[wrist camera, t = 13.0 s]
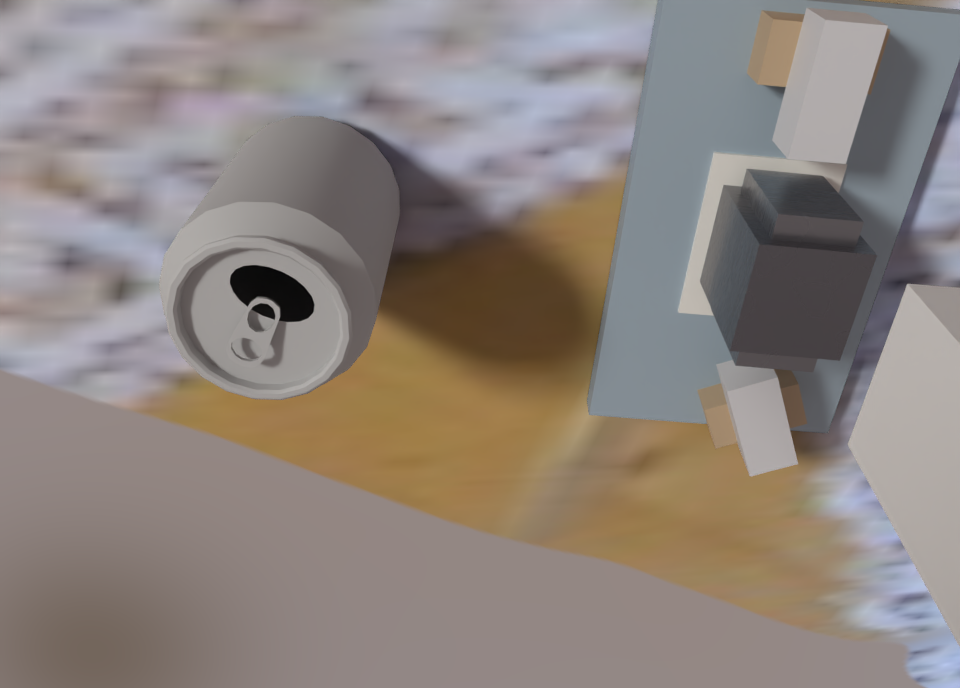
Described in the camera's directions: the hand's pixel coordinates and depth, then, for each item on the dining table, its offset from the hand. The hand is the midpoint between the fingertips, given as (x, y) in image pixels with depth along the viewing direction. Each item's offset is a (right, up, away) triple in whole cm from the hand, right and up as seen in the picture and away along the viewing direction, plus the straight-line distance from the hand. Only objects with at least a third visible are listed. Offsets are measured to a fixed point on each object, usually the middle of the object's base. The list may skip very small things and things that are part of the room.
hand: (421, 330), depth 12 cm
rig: (+13, +5, +28) cm, 31 cm away
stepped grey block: (+13, +4, +27) cm, 30 cm away
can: (-6, +7, +28) cm, 29 cm away
